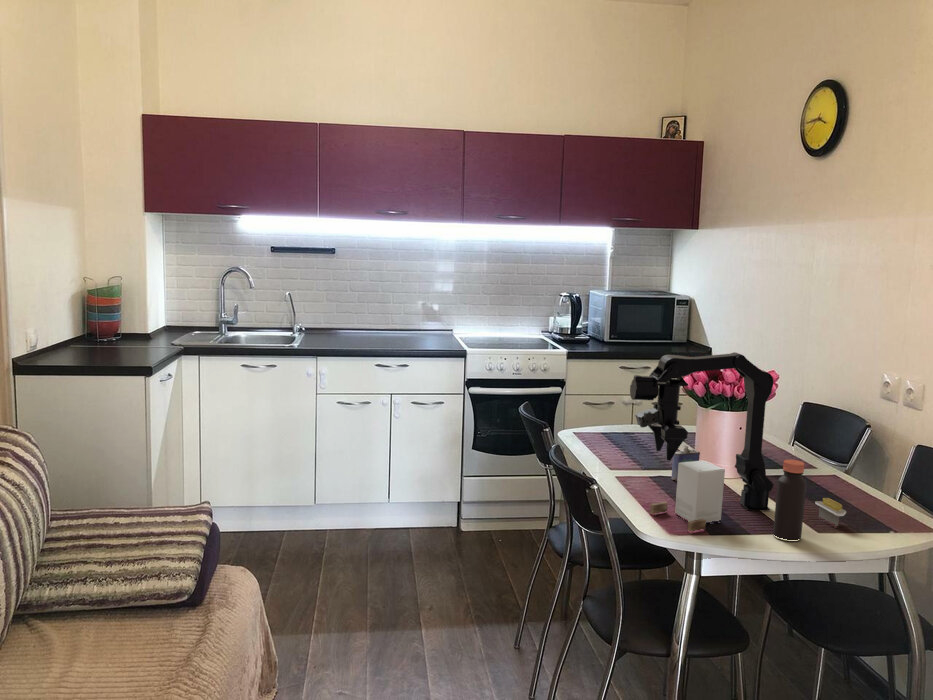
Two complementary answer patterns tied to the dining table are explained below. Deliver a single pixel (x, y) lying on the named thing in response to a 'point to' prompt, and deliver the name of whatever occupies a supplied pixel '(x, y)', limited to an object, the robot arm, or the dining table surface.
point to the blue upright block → (683, 459)
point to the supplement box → (699, 491)
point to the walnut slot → (691, 524)
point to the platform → (830, 510)
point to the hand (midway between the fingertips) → (663, 455)
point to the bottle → (790, 501)
